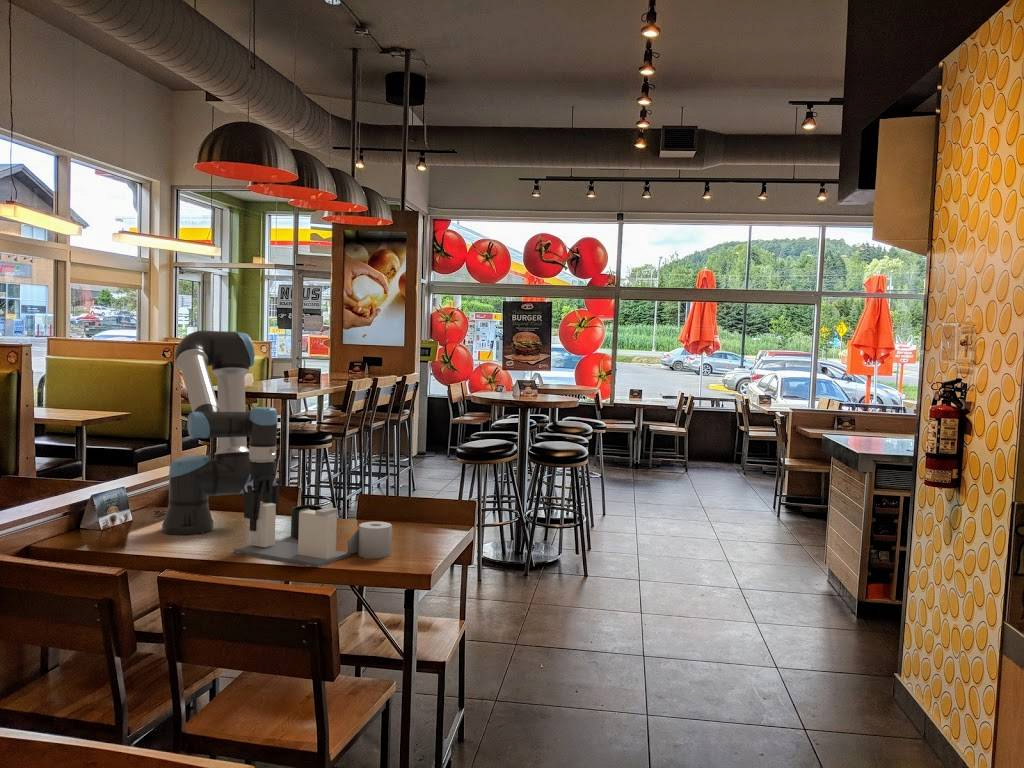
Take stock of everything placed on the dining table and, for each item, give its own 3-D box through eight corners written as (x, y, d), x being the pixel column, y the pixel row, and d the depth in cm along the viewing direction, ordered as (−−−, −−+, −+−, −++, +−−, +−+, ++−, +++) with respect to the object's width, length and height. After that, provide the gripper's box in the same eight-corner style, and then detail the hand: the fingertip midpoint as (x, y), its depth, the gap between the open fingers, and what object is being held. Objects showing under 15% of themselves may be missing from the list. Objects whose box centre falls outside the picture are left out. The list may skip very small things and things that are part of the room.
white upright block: (249, 544, 224) (249, 503, 223) (259, 541, 227) (260, 501, 227) (264, 547, 221) (265, 506, 221) (274, 544, 225) (275, 503, 224)
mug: (319, 542, 235) (320, 513, 234) (284, 538, 238) (285, 509, 237) (334, 536, 244) (335, 507, 243) (301, 532, 247) (301, 504, 247)
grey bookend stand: (233, 552, 220) (234, 502, 219) (268, 542, 232) (269, 495, 232) (317, 567, 207) (319, 515, 207) (349, 556, 220) (350, 506, 219)
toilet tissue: (340, 554, 221) (341, 525, 221) (381, 548, 230) (382, 520, 229) (355, 561, 214) (356, 531, 214) (397, 555, 223) (397, 526, 222)
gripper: (251, 464, 214) (249, 547, 215) (292, 458, 230) (290, 536, 231) (230, 462, 217) (229, 544, 218) (273, 456, 233) (271, 532, 234)
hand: (260, 539), depth 224 cm, fingers closed on white upright block, 4 cm apart
